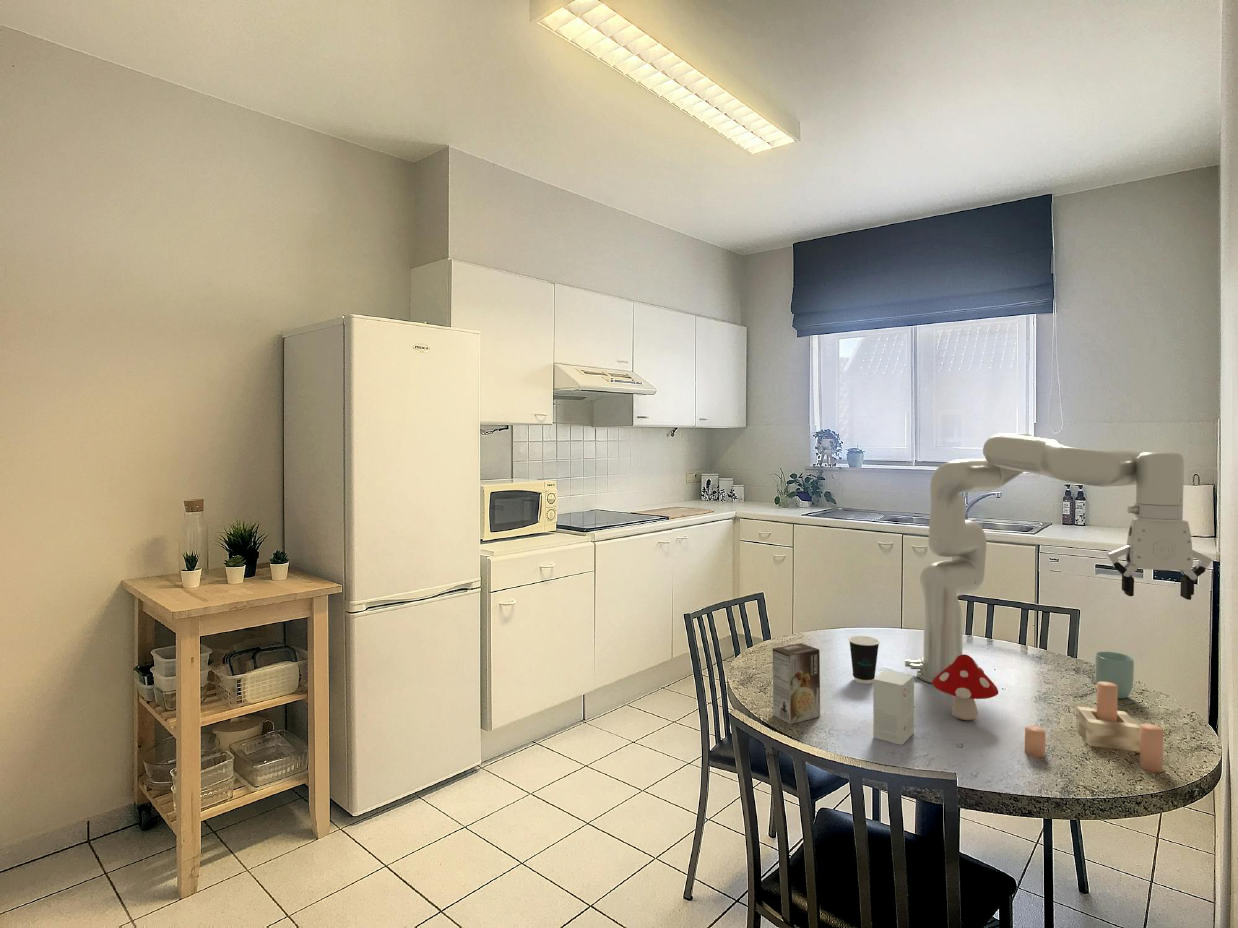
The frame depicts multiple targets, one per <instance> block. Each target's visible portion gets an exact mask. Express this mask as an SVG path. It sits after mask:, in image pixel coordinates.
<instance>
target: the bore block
mask: <svg viewBox="0 0 1238 928" xmlns="http://www.w3.org/2000/svg"><path fill="white" fill-rule="evenodd" d="M1096 715H1097V707H1096V708H1093V707H1084V706H1076V720H1075V721H1076V726H1075V729H1076V730H1077V731H1078V733H1079V735H1081V737H1082V739H1083V740H1084V741H1085V743H1086V744H1087V745H1088V746H1089V747H1097V748H1104V749H1112V750H1113V749H1114V750H1122V751H1129V752H1138V753H1140V725H1138V724H1137V723H1136V722H1135V720H1133V719H1132V718H1131V717H1130V715H1129V714H1128V713H1127V712H1126V711H1122V710H1117V722H1113V721H1103V720H1097V719H1096Z"/></svg>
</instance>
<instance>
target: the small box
mask: <svg viewBox="0 0 1238 928" xmlns="http://www.w3.org/2000/svg"><path fill="white" fill-rule="evenodd" d="M872 685H873V686H872V687H873V688H872V690H873V693H872V694H873V695H872V699H873V705H872V706H873V707H872V708H873V713H872V714H873V715H872V716H873V717H872V718H873V719H872V720H873V729H872V730H873V732H872V733H873V734H872V736H873V738H874V739H877V740H881V741H885V742H889V743H891V744H896V745H899V746H903V745H904V744H905V743H906V742H907V741H908V740H909V739H910V738H911V737H912V735H913V734H914V733H915V730H914V729H915V716H914V715H915V707H914V706H915V675H913V674H909V673H905V672H901V671H896V670H889V669H885V670H884V671H882V672H880V674H878V675H877V676H875V678H874V679H873V683H872Z"/></svg>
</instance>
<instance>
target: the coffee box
mask: <svg viewBox="0 0 1238 928" xmlns="http://www.w3.org/2000/svg"><path fill="white" fill-rule="evenodd" d="M820 654H821V653H820V649H819V648H817V647H813V646H811V645H808V644H805V643H802V642H799V643H795V644H790V645H785V646H779V647H774V648H772V694H773V695H772V715H773V716H774V717H776V718H778V719H780V720H781V721H784V722H785V723H788V724H789V725H793V724H794V725H795V724H797V723H802V722H805V721H808V720H812V719H816V718H820V717H821V698H820V697H821V689H820V688H821V675H820V674H821V673H820V671H821V670H820V668H821V667H820V664H821V663H820V662H821V661H820V660H821V659H820V657H821V656H820Z"/></svg>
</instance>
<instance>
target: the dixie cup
mask: <svg viewBox="0 0 1238 928" xmlns="http://www.w3.org/2000/svg"><path fill="white" fill-rule="evenodd" d="M848 641H849V648H850V649H849V650H850V658H851V665H852V666H851V667H852V677H853V680H854V682H856V683H859V684H867V685H868V684H873V679H874V678H876V671H877V670H876V668H877V662H878V651H879V644H880V643H881V641H880V640H879V639H878V638H876V637H872V636H867V635H854V636H853V635H852V636H849V638H848Z"/></svg>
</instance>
